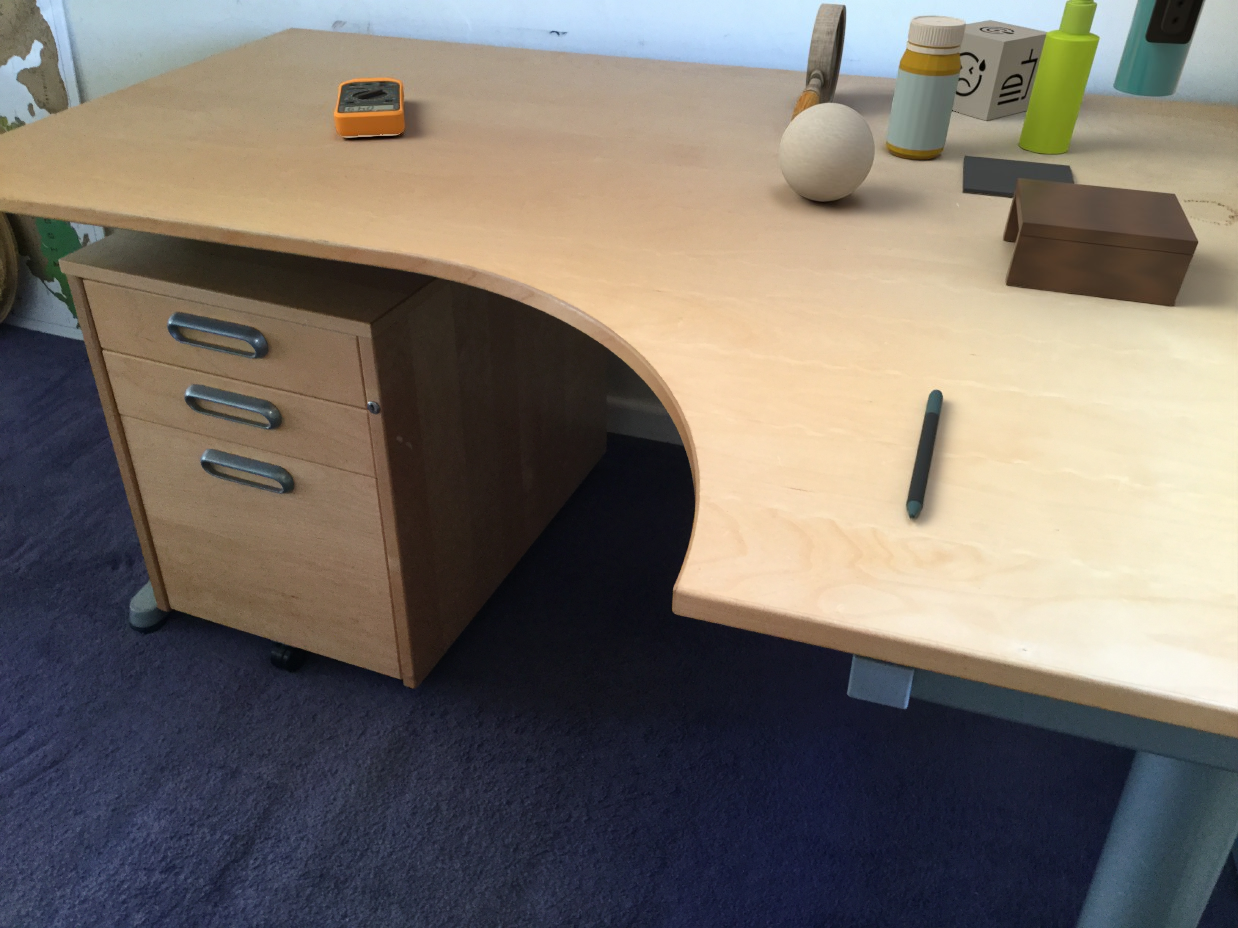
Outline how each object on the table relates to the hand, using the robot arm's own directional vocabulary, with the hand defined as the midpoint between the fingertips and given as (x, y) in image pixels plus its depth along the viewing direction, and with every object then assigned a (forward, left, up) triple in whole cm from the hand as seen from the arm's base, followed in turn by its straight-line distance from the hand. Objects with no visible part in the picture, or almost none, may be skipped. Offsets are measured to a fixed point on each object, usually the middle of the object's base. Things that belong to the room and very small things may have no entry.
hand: (1161, 32), depth 77 cm
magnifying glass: (+31, -43, -21) cm, 57 cm away
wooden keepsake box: (0, 0, -21) cm, 21 cm away
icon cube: (+9, -55, -21) cm, 59 cm away
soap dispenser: (+1, -38, -21) cm, 43 cm away
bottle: (+17, -31, -21) cm, 41 cm away
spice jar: (0, 0, -4) cm, 4 cm away
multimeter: (+87, -22, -21) cm, 92 cm away
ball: (+26, -11, -21) cm, 35 cm away
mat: (+5, -24, -21) cm, 32 cm away
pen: (+13, +36, -21) cm, 44 cm away
